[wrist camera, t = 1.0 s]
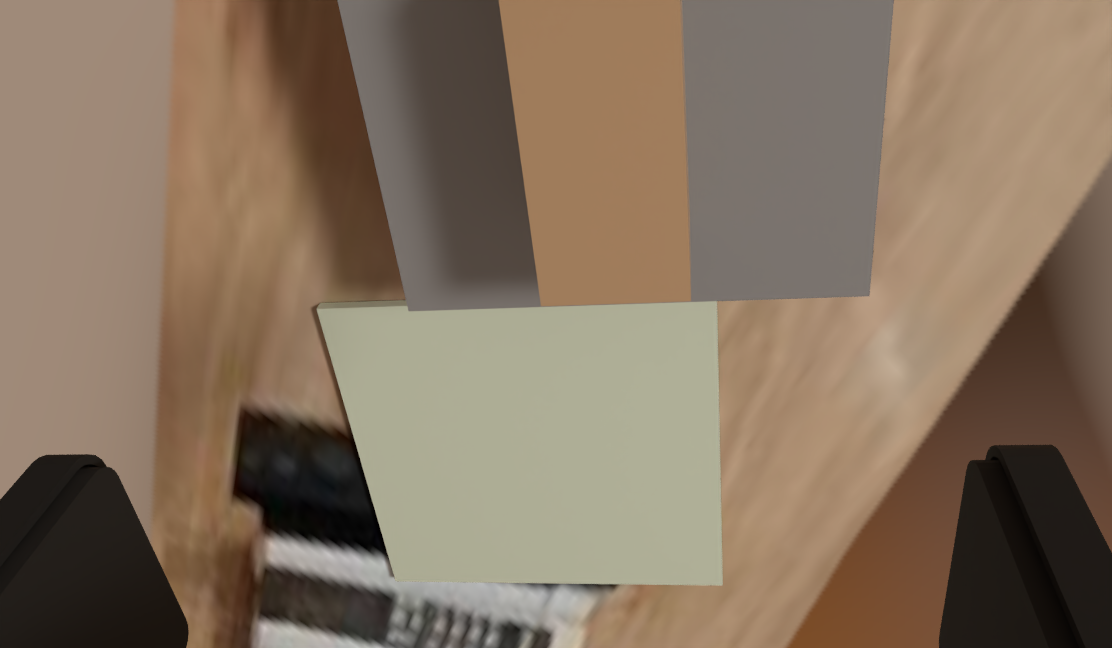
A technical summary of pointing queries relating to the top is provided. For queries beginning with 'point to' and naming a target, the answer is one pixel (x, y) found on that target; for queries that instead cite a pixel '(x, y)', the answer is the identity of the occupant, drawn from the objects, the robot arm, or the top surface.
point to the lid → (624, 147)
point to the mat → (537, 439)
